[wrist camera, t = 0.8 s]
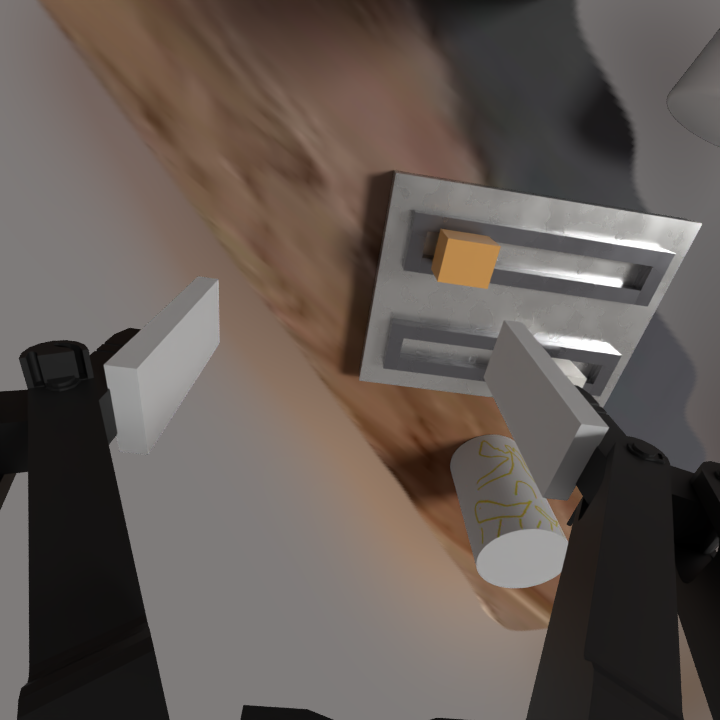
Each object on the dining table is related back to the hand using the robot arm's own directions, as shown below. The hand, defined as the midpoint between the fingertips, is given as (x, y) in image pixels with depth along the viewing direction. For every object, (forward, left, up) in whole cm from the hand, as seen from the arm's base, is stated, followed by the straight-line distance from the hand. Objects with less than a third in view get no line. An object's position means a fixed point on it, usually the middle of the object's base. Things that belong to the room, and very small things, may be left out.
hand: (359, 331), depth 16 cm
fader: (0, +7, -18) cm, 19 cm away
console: (+4, +14, -20) cm, 25 cm away
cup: (+23, +18, -20) cm, 36 cm away
